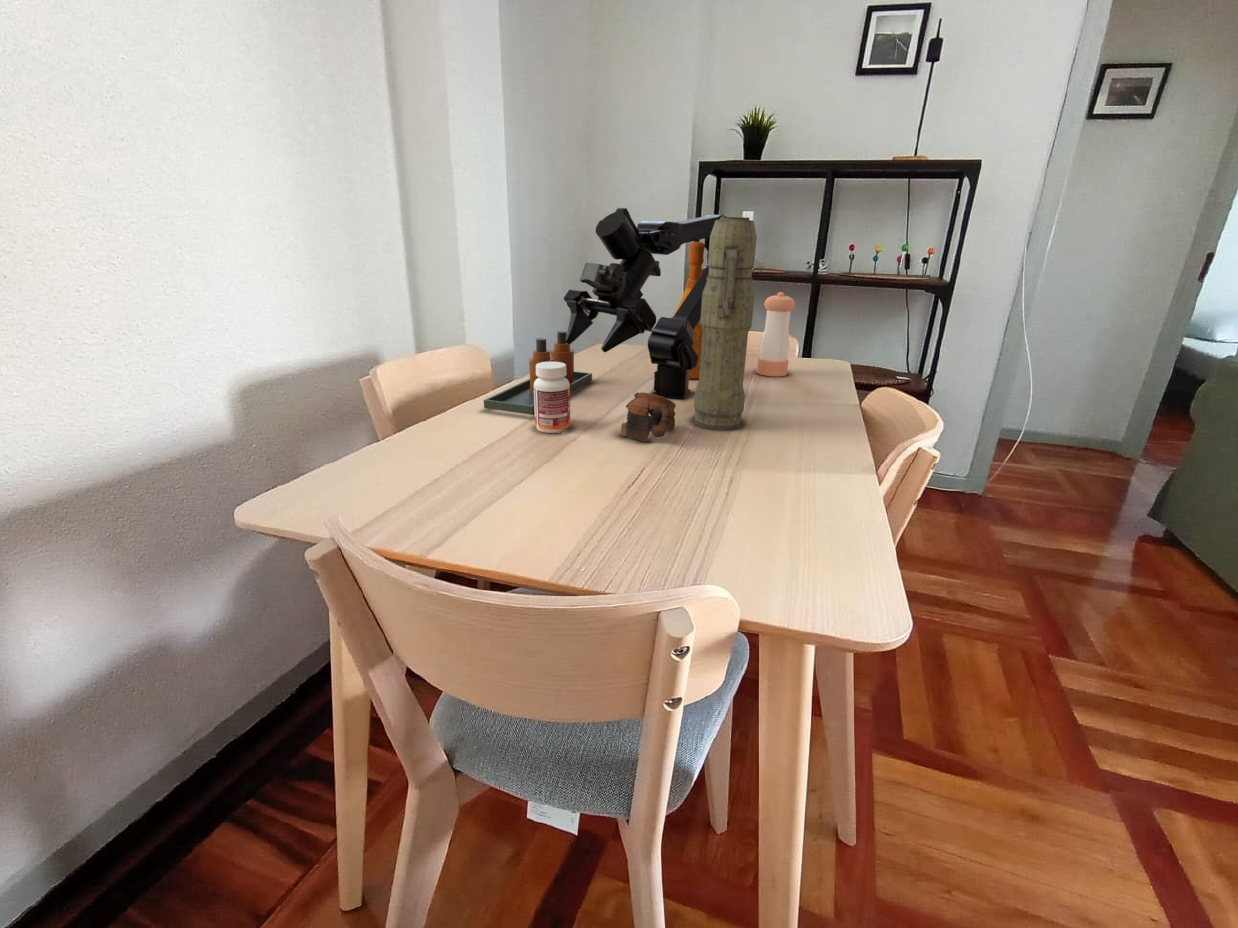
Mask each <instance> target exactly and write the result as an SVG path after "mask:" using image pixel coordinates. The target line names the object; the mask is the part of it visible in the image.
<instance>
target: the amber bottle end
mask: <svg viewBox="0 0 1238 928" xmlns="http://www.w3.org/2000/svg"><path fill="white" fill-rule="evenodd" d="M556 336H557V337H556V341H555V342H553V348H552V349H550V357H552V358H554V362H561V363H564V364H566V372H567V375H566V376H564V378H566V379H567V380H568V381H569V384H571V383H573V382H574V371H575V351H574V349H573V348H571V344H567V342H566V341H565V340H566V336H567V331H565V330H558V331H556Z"/></svg>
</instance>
